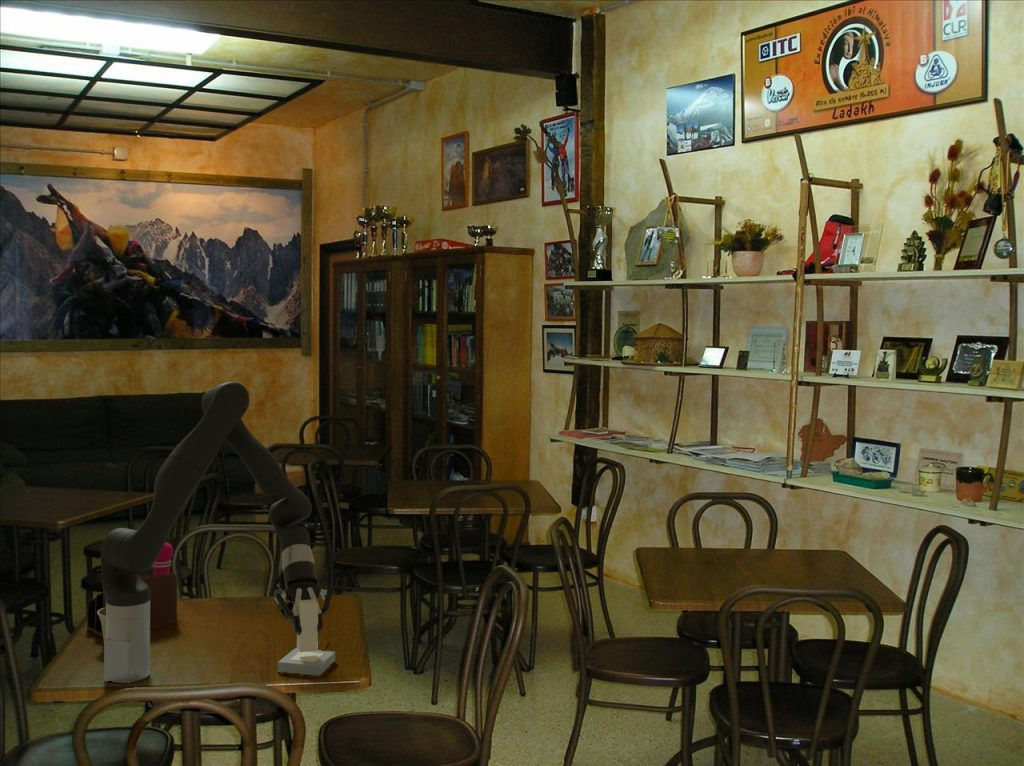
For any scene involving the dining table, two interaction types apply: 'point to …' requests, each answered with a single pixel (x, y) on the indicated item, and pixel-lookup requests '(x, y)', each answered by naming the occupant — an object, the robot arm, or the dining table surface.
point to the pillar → (308, 625)
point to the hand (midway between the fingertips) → (309, 631)
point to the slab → (306, 662)
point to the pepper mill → (163, 560)
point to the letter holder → (160, 603)
